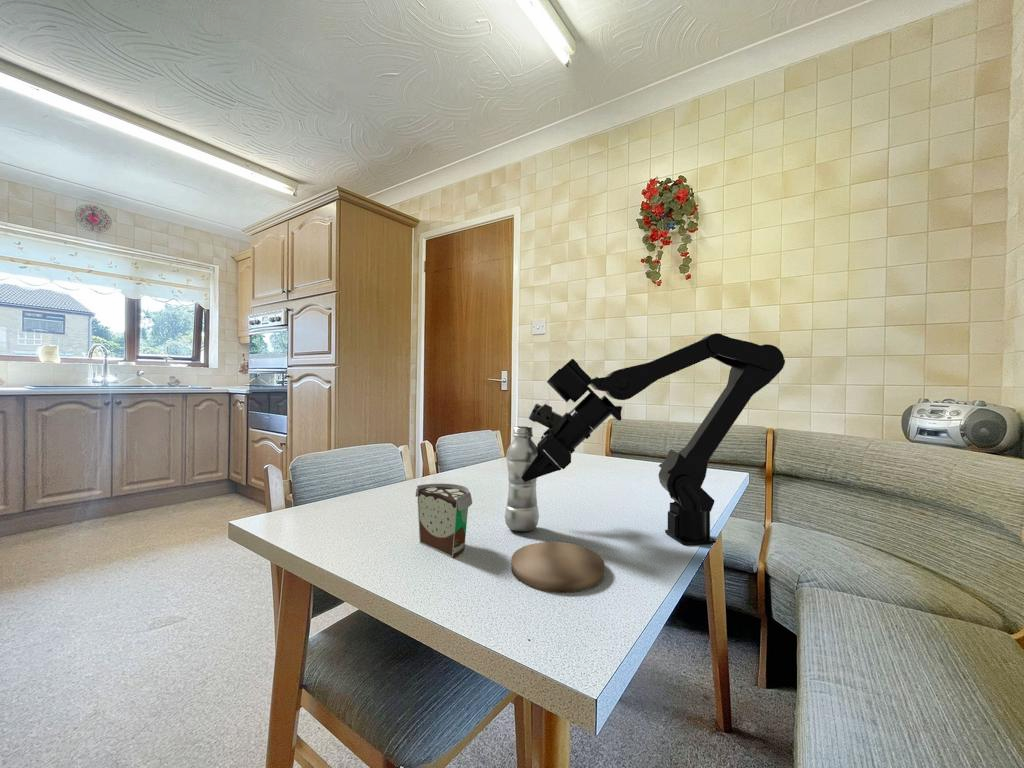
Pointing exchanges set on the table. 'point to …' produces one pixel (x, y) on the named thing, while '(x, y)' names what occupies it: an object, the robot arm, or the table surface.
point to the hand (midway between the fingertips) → (525, 474)
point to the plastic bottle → (521, 482)
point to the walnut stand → (558, 567)
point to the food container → (443, 517)
